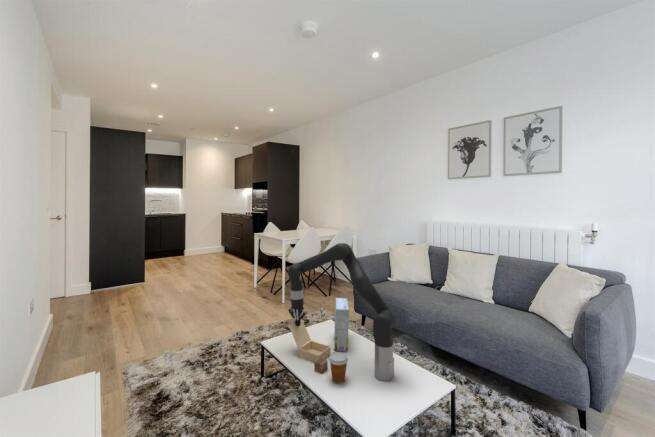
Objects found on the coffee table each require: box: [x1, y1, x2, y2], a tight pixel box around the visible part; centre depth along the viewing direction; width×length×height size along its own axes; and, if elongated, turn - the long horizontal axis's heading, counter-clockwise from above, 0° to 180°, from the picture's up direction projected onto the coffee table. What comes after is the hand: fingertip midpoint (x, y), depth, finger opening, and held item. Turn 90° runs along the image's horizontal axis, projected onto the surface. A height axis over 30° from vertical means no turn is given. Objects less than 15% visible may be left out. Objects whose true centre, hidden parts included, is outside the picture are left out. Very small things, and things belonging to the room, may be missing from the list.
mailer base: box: [298, 340, 332, 364], centre depth 175 cm, size 14×12×5 cm
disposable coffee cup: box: [328, 351, 349, 384], centre depth 153 cm, size 10×10×12 cm
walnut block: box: [313, 358, 328, 375], centre depth 161 cm, size 5×5×5 cm
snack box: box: [334, 297, 350, 352], centre depth 191 cm, size 22×9×26 cm, turn 179°
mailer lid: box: [288, 319, 312, 349], centre depth 181 cm, size 14×12×1 cm
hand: (298, 325), depth 181 cm, fingers closed
